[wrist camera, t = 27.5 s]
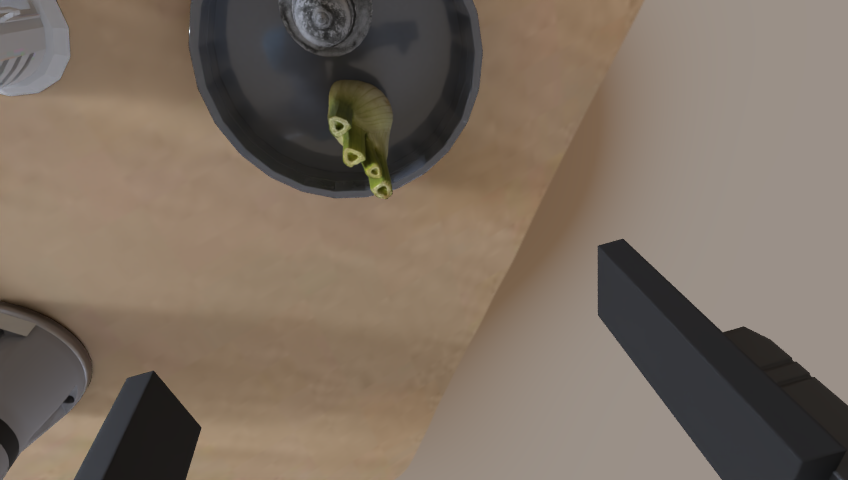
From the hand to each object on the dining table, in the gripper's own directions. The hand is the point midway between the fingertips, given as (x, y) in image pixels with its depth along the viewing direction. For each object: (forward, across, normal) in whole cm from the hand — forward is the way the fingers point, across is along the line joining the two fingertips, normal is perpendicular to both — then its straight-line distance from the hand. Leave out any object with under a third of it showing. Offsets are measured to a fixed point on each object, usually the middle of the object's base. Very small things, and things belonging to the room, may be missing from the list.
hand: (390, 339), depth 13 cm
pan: (+27, 0, +4) cm, 27 cm away
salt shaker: (+26, 0, +8) cm, 27 cm away
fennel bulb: (+26, 0, 0) cm, 26 cm away
